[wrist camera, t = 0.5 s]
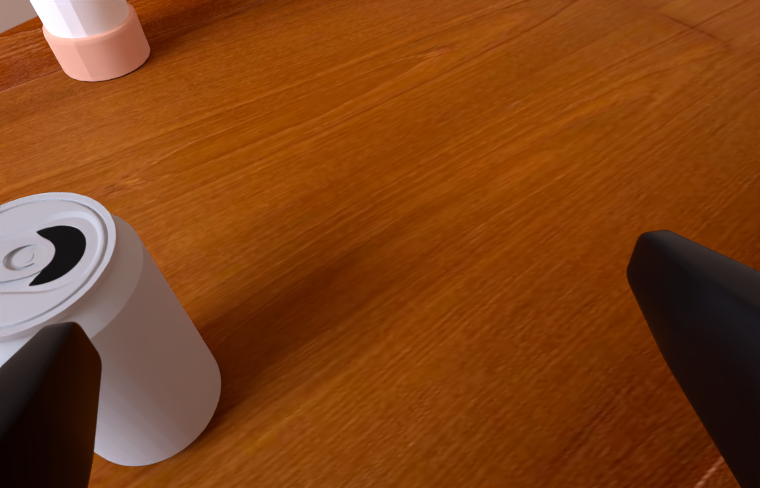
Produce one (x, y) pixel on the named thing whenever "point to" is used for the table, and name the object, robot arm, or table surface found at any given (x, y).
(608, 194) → the table surface
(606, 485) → the table surface
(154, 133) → the table surface
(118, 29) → the pepper shaker
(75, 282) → the beverage can
